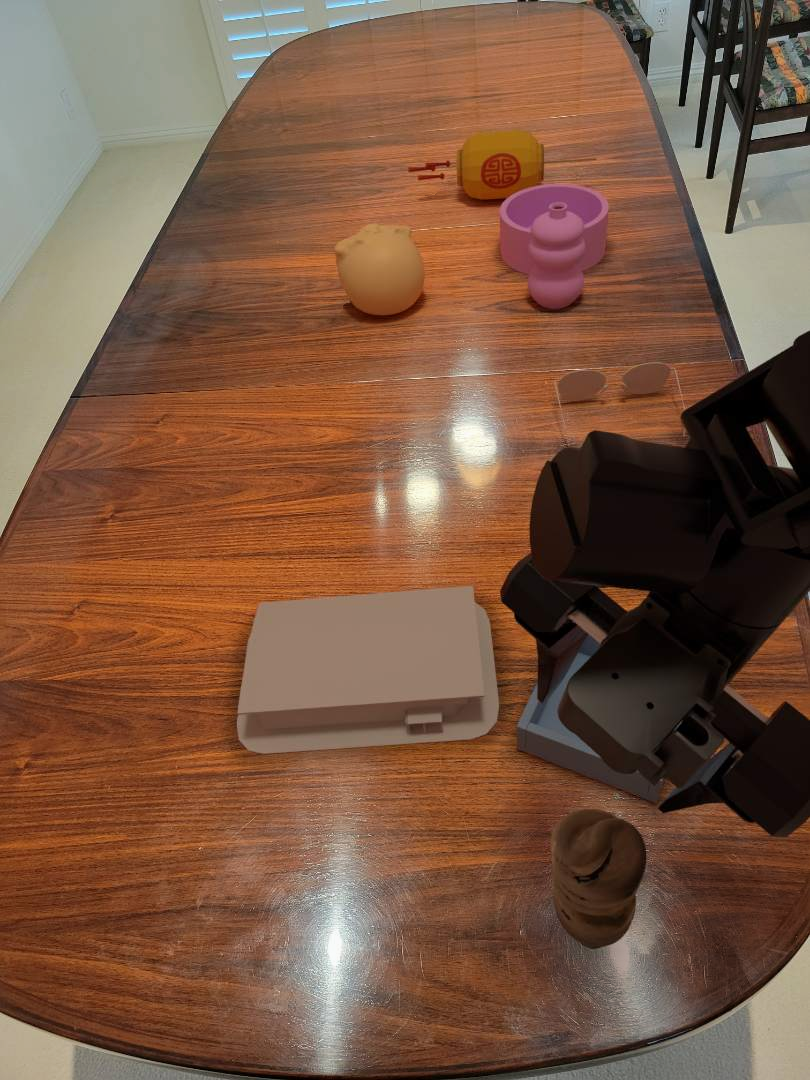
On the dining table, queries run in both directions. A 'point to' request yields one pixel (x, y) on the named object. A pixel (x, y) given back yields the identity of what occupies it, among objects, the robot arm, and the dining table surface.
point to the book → (368, 672)
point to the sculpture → (381, 269)
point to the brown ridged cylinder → (596, 875)
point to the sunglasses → (592, 381)
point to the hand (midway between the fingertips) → (601, 750)
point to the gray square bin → (573, 738)
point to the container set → (554, 238)
